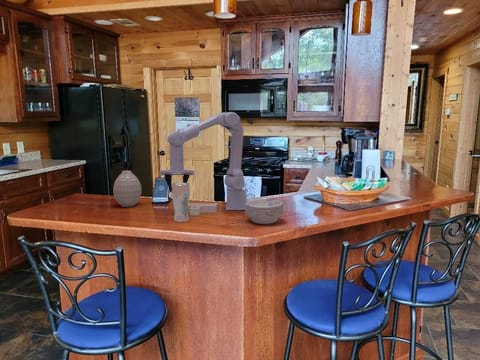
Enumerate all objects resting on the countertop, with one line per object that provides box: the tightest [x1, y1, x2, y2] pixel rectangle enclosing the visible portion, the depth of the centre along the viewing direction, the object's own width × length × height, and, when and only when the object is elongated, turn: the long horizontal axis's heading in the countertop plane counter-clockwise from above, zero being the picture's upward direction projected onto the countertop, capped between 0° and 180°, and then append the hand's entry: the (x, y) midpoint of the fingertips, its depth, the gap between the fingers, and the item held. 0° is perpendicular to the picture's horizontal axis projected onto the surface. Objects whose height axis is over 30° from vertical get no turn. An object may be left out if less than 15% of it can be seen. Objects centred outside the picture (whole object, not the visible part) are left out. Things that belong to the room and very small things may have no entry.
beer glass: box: [171, 182, 191, 223], centre depth 150 cm, size 7×7×15 cm
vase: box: [112, 170, 142, 208], centre depth 176 cm, size 13×13×17 cm
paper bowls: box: [244, 198, 284, 225], centre depth 149 cm, size 15×15×8 cm
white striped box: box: [188, 202, 218, 214], centre depth 166 cm, size 13×6×3 cm, turn 91°
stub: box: [189, 206, 201, 217], centre depth 160 cm, size 4×5×3 cm
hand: (177, 191), depth 159 cm, fingers open, 5 cm apart
